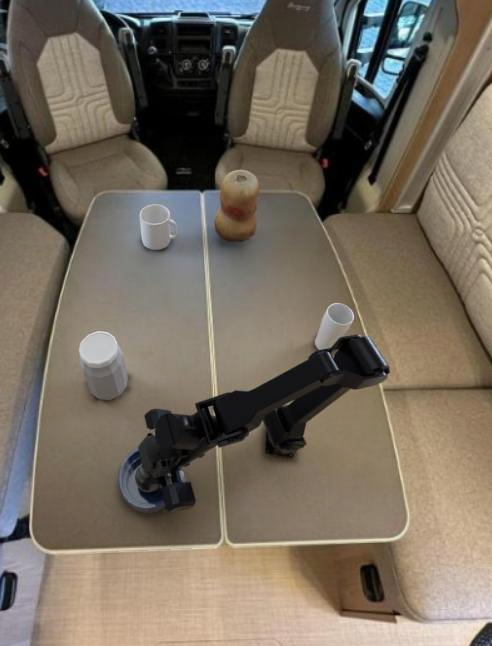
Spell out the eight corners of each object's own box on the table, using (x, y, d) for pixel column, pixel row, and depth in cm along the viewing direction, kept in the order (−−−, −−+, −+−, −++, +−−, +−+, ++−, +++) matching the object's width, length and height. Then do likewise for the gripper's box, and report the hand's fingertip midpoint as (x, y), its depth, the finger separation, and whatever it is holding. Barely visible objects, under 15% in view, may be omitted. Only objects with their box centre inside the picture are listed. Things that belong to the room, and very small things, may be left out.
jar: (81, 380, 105) (67, 344, 91) (114, 359, 109) (105, 320, 95) (102, 410, 100) (90, 376, 86) (135, 386, 104) (129, 349, 90)
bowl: (172, 518, 86) (171, 512, 81) (115, 508, 86) (112, 502, 82) (181, 458, 93) (181, 450, 89) (129, 449, 94) (126, 441, 90)
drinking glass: (308, 349, 112) (323, 318, 101) (315, 330, 116) (330, 298, 105) (332, 360, 110) (350, 329, 99) (339, 340, 114) (357, 309, 103)
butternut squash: (208, 245, 137) (213, 184, 118) (218, 219, 145) (224, 158, 126) (249, 255, 134) (261, 194, 115) (257, 228, 143) (269, 167, 124)
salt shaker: (161, 463, 91) (158, 446, 82) (166, 492, 88) (164, 477, 78) (134, 470, 90) (128, 453, 81) (138, 499, 87) (133, 484, 78)
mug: (142, 231, 140) (139, 204, 131) (177, 230, 141) (177, 203, 132) (142, 251, 134) (139, 225, 125) (179, 250, 135) (179, 223, 126)
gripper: (151, 390, 78) (102, 428, 84) (178, 495, 66) (118, 530, 73) (191, 396, 85) (143, 430, 92) (221, 491, 74) (164, 523, 80)
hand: (141, 474), depth 84 cm, fingers closed on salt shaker, 3 cm apart
